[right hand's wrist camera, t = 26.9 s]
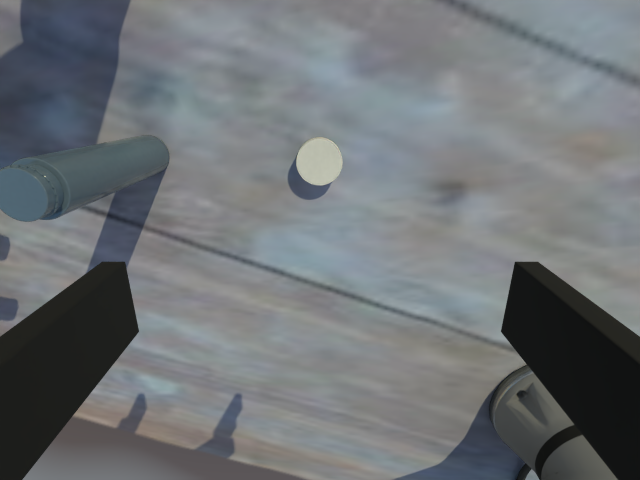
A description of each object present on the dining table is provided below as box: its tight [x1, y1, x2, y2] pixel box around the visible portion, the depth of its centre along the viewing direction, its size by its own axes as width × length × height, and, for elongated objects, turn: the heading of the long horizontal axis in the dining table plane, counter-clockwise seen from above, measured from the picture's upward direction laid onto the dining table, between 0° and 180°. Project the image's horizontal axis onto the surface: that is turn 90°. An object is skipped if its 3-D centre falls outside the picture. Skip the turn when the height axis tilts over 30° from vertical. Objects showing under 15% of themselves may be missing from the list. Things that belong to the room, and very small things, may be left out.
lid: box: [296, 137, 342, 186], centre depth 40 cm, size 5×5×2 cm
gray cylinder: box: [0, 135, 169, 222], centre depth 32 cm, size 4×4×19 cm
